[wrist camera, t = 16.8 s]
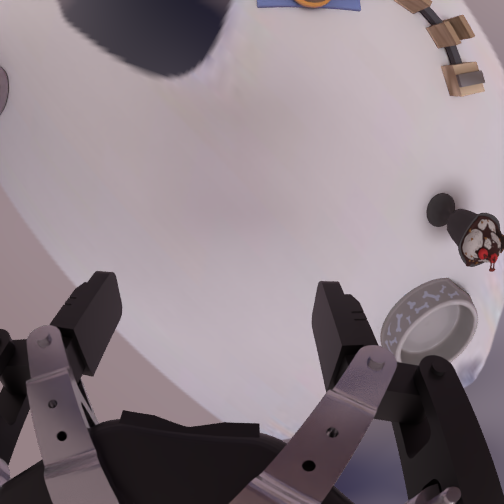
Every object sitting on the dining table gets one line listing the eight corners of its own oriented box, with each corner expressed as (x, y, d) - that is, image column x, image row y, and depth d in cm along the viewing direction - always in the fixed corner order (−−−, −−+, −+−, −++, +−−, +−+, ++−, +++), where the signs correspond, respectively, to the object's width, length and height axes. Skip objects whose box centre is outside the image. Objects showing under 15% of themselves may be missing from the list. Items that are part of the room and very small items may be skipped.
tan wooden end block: (472, 90, 29) (487, 91, 26) (450, 95, 30) (464, 96, 27) (464, 62, 27) (479, 61, 24) (440, 66, 28) (455, 65, 25)
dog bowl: (427, 261, 41) (443, 280, 36) (482, 302, 45) (496, 319, 40) (360, 341, 48) (369, 364, 43) (424, 366, 52) (434, 385, 47)
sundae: (412, 218, 38) (473, 276, 24) (438, 178, 35) (509, 220, 22) (441, 240, 39) (499, 298, 26) (465, 202, 36) (532, 249, 23)
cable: (371, -18, 24) (374, -20, 23) (387, -29, 22) (390, -32, 21) (456, 76, 28) (461, 76, 27) (469, 63, 27) (474, 62, 26)
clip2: (438, 48, 27) (456, 45, 23) (425, 28, 26) (443, 22, 22) (456, 39, 26) (475, 36, 22) (445, 19, 25) (463, 14, 21)
